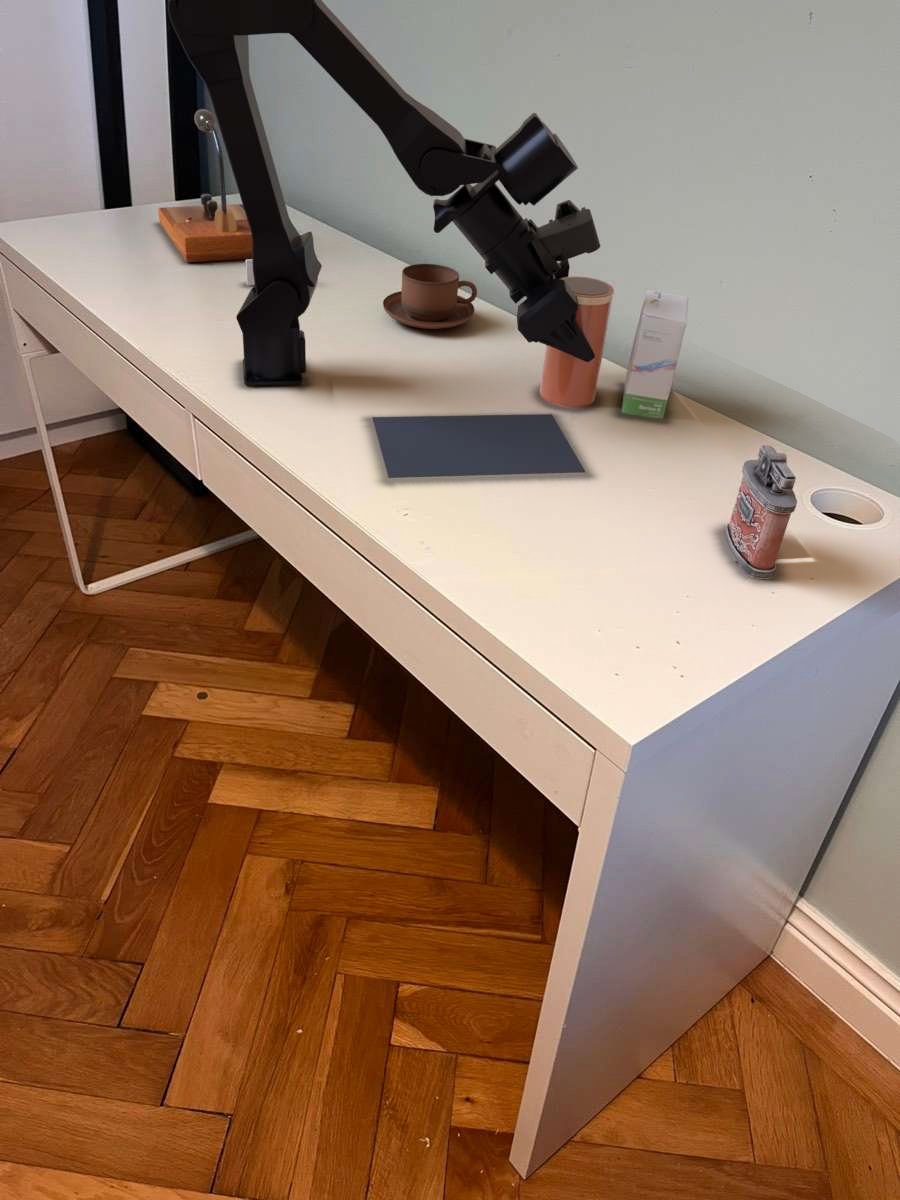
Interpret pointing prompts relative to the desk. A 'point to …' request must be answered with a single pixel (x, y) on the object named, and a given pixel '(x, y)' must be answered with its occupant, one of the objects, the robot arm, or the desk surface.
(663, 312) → the ink box
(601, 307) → the pen pot
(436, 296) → the cup and saucer
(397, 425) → the felt mat
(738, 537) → the lighter
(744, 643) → the desk surface
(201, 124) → the wooden scientific apparatus
